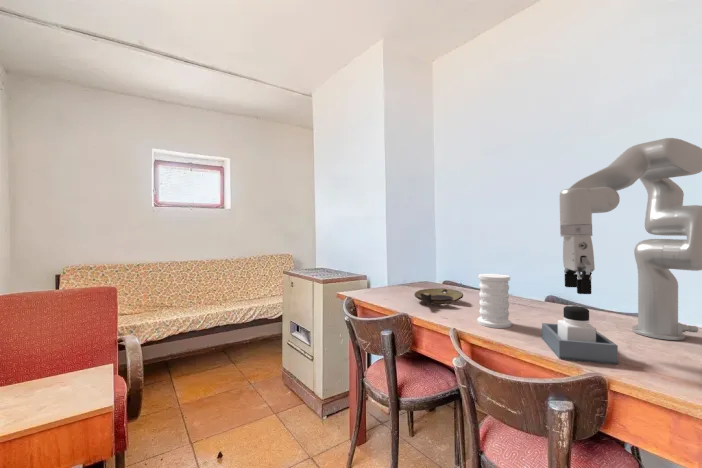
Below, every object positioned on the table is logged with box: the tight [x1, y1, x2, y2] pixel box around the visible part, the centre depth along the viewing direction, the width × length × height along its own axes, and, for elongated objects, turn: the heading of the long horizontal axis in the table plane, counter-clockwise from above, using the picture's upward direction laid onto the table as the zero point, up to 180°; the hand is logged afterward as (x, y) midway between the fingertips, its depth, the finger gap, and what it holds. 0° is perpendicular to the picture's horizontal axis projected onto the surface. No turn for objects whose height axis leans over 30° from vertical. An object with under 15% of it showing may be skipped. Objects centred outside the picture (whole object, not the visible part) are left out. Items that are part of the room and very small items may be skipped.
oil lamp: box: [413, 287, 464, 306], centre depth 152 cm, size 22×30×8 cm
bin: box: [541, 322, 619, 366], centre depth 91 cm, size 13×17×5 cm
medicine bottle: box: [557, 305, 597, 342], centre depth 91 cm, size 7×7×12 cm
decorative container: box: [476, 273, 512, 329], centre depth 118 cm, size 12×12×18 cm
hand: (577, 290), depth 91 cm, fingers open, 9 cm apart
